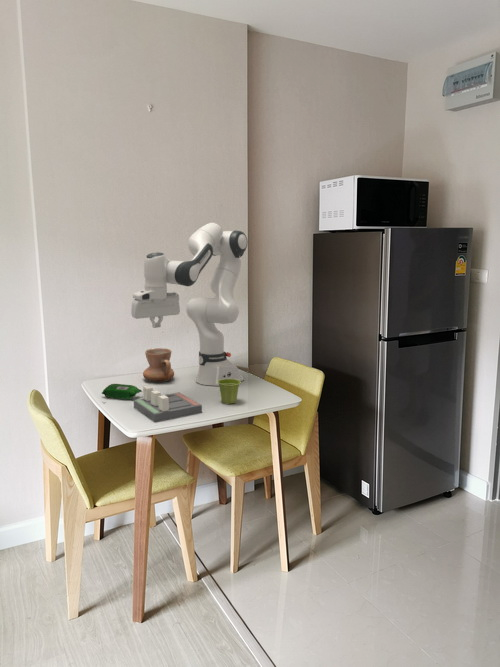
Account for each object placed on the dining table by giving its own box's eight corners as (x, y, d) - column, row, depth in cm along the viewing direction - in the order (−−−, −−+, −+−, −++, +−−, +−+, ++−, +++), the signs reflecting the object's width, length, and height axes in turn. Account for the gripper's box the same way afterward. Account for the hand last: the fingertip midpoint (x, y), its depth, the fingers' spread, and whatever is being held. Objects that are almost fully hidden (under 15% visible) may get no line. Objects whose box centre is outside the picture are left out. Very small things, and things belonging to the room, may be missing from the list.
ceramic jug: (136, 378, 250) (135, 348, 247) (163, 373, 259) (163, 345, 256) (154, 387, 236) (153, 356, 233) (182, 382, 245) (182, 352, 242)
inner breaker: (149, 397, 212) (149, 385, 211) (152, 400, 209) (152, 387, 208) (143, 398, 210) (143, 386, 209) (147, 401, 208) (146, 388, 207)
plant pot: (220, 397, 224) (220, 377, 223) (242, 399, 223) (242, 379, 221) (215, 404, 215) (215, 384, 214) (238, 406, 214) (238, 385, 212)
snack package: (135, 402, 217) (135, 389, 216) (100, 398, 220) (100, 386, 219) (142, 397, 223) (142, 385, 222) (108, 393, 227) (108, 381, 226)
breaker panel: (179, 399, 221) (179, 392, 220) (201, 412, 206) (201, 404, 205) (133, 407, 210) (133, 400, 209) (154, 422, 194) (154, 414, 194)
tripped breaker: (164, 407, 201) (164, 395, 200) (168, 410, 198) (168, 397, 197) (158, 408, 199) (158, 396, 198) (162, 411, 196) (162, 398, 195)
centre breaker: (156, 402, 206) (156, 390, 205) (160, 405, 203) (160, 392, 202) (150, 403, 205) (150, 391, 204) (154, 406, 202) (154, 393, 201)
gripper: (175, 291, 221) (175, 323, 224) (129, 294, 210) (130, 328, 213) (182, 292, 216) (182, 326, 219) (135, 296, 205) (136, 331, 208)
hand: (156, 327), depth 216 cm, fingers closed
